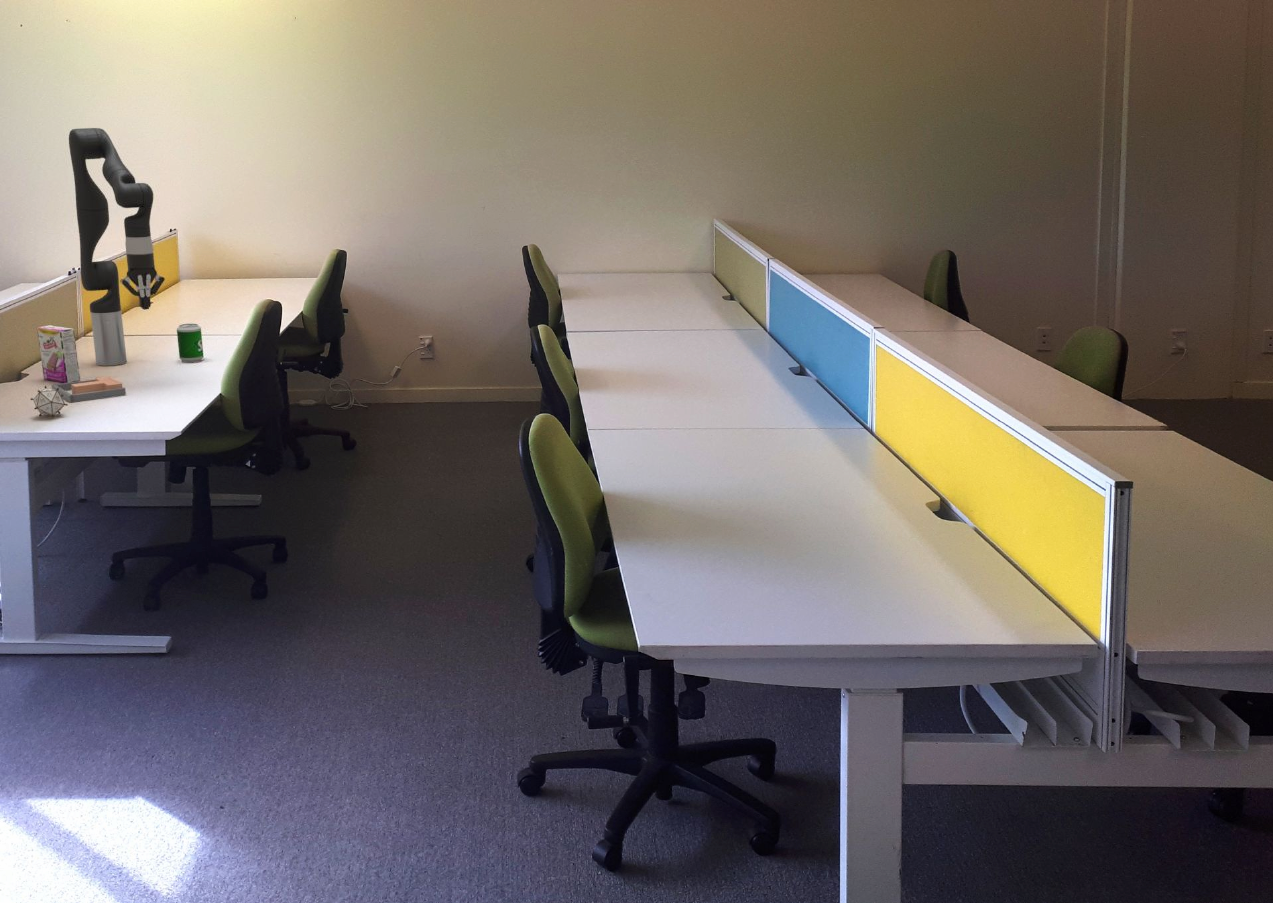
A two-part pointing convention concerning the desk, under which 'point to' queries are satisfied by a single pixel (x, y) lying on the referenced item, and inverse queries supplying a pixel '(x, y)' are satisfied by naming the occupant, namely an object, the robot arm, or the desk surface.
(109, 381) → the T block
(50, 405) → the game die
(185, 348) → the soda can
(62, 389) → the charcoal bay
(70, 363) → the candy bar box
